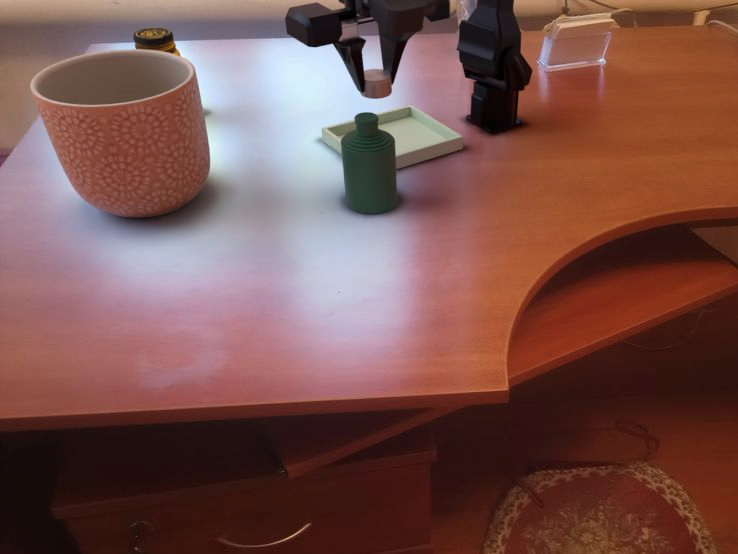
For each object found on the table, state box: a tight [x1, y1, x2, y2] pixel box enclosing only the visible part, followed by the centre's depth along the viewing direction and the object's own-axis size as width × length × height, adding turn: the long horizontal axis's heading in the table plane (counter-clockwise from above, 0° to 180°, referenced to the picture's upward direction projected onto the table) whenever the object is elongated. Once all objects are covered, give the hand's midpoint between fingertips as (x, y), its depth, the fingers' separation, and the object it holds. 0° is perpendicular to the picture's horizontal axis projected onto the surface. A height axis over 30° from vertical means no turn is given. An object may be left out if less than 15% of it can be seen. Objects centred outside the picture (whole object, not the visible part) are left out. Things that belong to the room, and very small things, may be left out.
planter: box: [29, 48, 211, 219], centre depth 85 cm, size 17×17×15 cm
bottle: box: [341, 111, 398, 215], centre depth 87 cm, size 6×6×11 cm
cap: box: [359, 68, 393, 100], centre depth 87 cm, size 4×4×2 cm
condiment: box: [132, 27, 206, 114], centre depth 104 cm, size 7×8×12 cm
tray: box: [320, 104, 464, 170], centre depth 102 cm, size 15×13×2 cm
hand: (375, 87), depth 88 cm, fingers closed on cap, 4 cm apart
